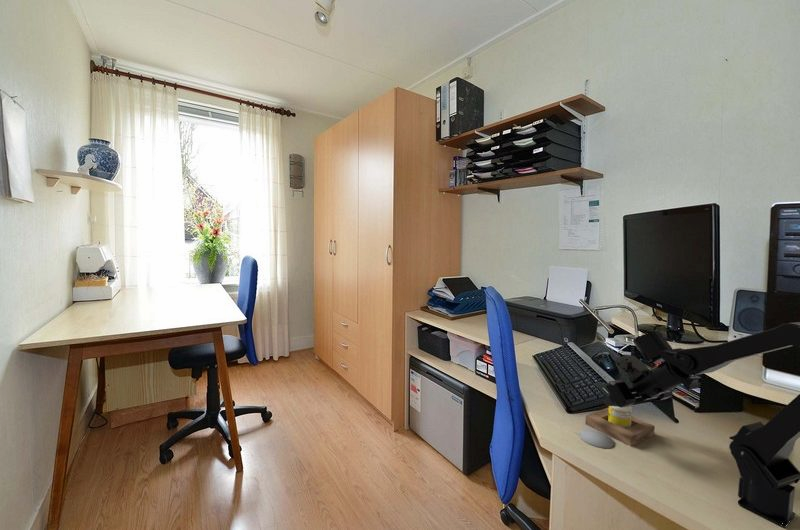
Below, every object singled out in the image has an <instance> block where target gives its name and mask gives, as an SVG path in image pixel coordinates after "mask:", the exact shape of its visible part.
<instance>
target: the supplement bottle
mask: <svg viewBox="0 0 800 530" xmlns="http://www.w3.org/2000/svg"><path fill="white" fill-rule="evenodd" d="M608 407H609V413H608V421H609V422H611V423H613V424H616V425H618V426H620V427H622V428H624V429H627V428H629V427H631V417H632V415H633V414H632V410H633V408H632V407H633V406H632V405H630V406H627V407H622V408H620V407H616V406H608Z"/></svg>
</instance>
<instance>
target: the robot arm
mask: <svg viewBox="0 0 800 530" xmlns="http://www.w3.org/2000/svg"><path fill="white" fill-rule="evenodd" d="M632 343H633V344H634V345H635V347H636V349H637V350H638V351H639V352H640V354H641V355H642V357H643V358H644V359H645V361H646V362H647V363H650V362H652V363H653V364H658V365H656V366H654V367H652V368H648V366H647V365H646V364H645V363H644V362H642V360H640V359H639V358H638V357H636V356H635V355H632V354H630V355H628V354H627V355H622V356H621V357H619V359H616V363H615V365H616V367H617V368H618V369H619V370H620V371H621V372H622V373H625V374H626V375H628V377H627V380H628V381H629V382H630V383H632V384H631V386H632V387H630V388H629V386H628V384H627V383H626V381H624V380H621V379H617V380H615V379H614V380H610V381H609V382H607V383H606V384H605V388H606V389H607V391H608V395H607V397H606V398H605V399H604V400H603V403H604V405H605V406H606V407H609V406H616V407H620V408H622V407H627V406H630V405H631V406H632V405H634V404H635V405H636V402H658V401H663V400H667V399H669V398H671V397H673V393H674V392H673V391H674V390H673V389H675V388H677V387H679V386H681V385H683V387H684V388H685V389H686V390H688V391H690V390H696V389H699V378H698V377H695V376H696V375H704V374H710V373H714V372H716V371H718V370H721V369H722V368H726V366H728V365H730V364H732V363H733V362H736V361H739V360H743V359H746V358H751V357H754V356H758V355H762V354H767V353H770V352H775V351H778V350H782V349H786V348H790V347H796V348H799V349H800V322H799V321H798V322H788V323H787V322H786V323H781V324H780V325H778V326H776V327H773V328H770V329H766V330H763V331H760V332H757V333H753V334H750V335H746V336H742V337H740V338H736V339H733V340H729V341H726V342H722V343H720V344H716V345H708V346H699V347H692V348H691V347H690V348H681V347H679V348H673V347H672V346H671V345H670V343H669V342H668V341H667V340H666V339H665V337H664V336H663V333H662V332H661V331H660V330H659V329H655V330H651V331H649V332H647V333H644V334H642V335H638V336H636V337H635V338H633V340H632ZM661 362H662V363H661ZM659 363H660V364H659ZM728 438H729V439H730V440H732V441H731V442H730V443H729V446H728V448H729V450H730V453H731V455H732V457H733V458H734V460H735V462H736V466H737V468H738V472H739V475H740V477H739V482H738V491H737V492H738V493H737V496H738V497H739V500H738V501H737V505H739V506H741V507H743V508H744V509H746V510H748V511H750V512H753V513H754V514H756V513H757V514H756V515H758V516H760V515H761V516H760V517H762V516H763V517H762V518H764V517H765V518H764V519H766V518H768V519H769V520H768V519H767V520H768V521H770V520H772V521H774V522H776V523H778V524H780V525H782V526H786V525H787V524H788V523H789V521H790V520H791V519H792V518H793V517H794V516H795V517H796V512H794V504H795V503H794V502H795V492H796V491H795V490H796V487H795V486H793V484H798V483H799V482H800V470H799V469H798V468H797V466H796V465H794V463H793V462H792V461H791V460H790V459H789V457H790V455H791V454H792V452H793V450H794V447H795V443H796V441H797V440H798V439H799V438H800V393H799V394H798V395H797V396H795V398H794V399H792V400H791V401H790V402H788V404H787V405H785V406H784V407H783V408H782V409H781V410H779V412H778V413H776V415H774V416H773V417H772V418H771V419H770V420H769V421H768V422H766V424H764V423H762V421H755V422H753V423H749V424H744V425H741V427H740V428H739V430H738V431H737V433H736V434H735V435H731V436H729V437H728ZM795 517H794V518H795ZM794 518H793V519H794ZM793 519H792V520H793ZM772 521H771V522H772ZM774 522H773V523H774ZM776 523H775V524H776ZM782 523H783V524H782ZM778 524H777V525H778ZM789 524H790V523H789ZM789 524H788V525H789ZM780 525H779V526H780ZM788 525H787V526H788ZM782 526H781V527H782Z"/></svg>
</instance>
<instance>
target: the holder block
mask: <svg viewBox="0 0 800 530" xmlns="http://www.w3.org/2000/svg"><path fill="white" fill-rule="evenodd" d="M608 413H609V406H607V407H606V408H602V409H601V410H598V411H595V412H592V413H588V414H586V415H585V423H584V425H586V426H589V427H591V428H593V429H594V430H596V431H599V432H601V433H604V434H606V435H607V436H609V437H610V438H613V439H615V440H617V441H619V442H621V443H623V444H625V445H628V446H629V447H632V446H634V445H636V444H638V443H640V442H642V441H644V440H646V439H648V438H651V437H653V436H654V435H655V428H656V427H655V425H654V424H651V423H649V422H647V421H644V420H642V419H639V418H637V417H634V416H632V417H631V427H629V428H627V429H624V428H622V427H620V426H618V425H616V424H613V423H611V422H609V421H608Z"/></svg>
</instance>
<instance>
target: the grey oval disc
mask: <svg viewBox="0 0 800 530" xmlns="http://www.w3.org/2000/svg"><path fill="white" fill-rule="evenodd" d="M578 436H579V438H580V440H581V441H583V442H584V443H586V444H588V445H590V446H593V447H596V448H600V449H601V448H602V449H610V448H612V447H613V446H614V444H615V443H614V440H613V439H612V437H611V436H609V435H607V434H605V433H603V432H601V431H599V430H596V429H591V428H590V429H587V428H586V429H581V430H579V432H578Z"/></svg>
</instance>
